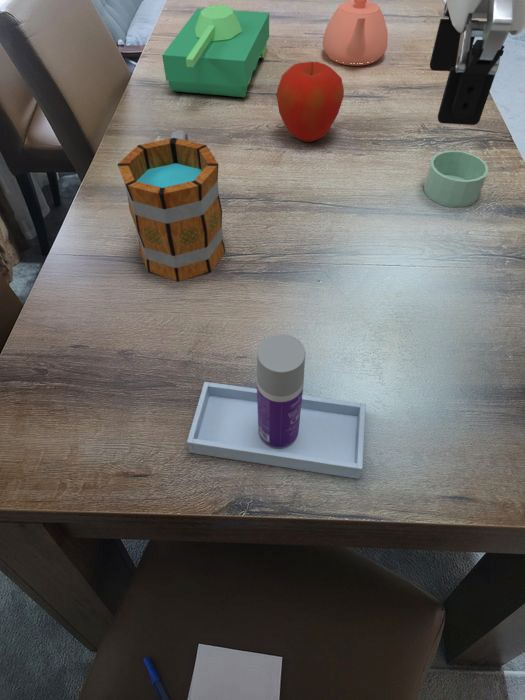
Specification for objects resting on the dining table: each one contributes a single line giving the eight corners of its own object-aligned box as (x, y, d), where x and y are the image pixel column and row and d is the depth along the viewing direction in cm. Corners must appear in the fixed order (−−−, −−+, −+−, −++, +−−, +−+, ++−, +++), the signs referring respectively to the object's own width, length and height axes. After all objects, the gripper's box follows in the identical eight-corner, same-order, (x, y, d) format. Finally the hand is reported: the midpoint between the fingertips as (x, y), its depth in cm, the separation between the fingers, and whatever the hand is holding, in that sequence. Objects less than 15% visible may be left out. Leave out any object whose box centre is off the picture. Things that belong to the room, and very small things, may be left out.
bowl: (475, 178, 89) (485, 152, 85) (480, 209, 83) (491, 183, 79) (422, 173, 90) (429, 148, 86) (424, 204, 84) (432, 178, 80)
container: (296, 452, 55) (303, 376, 43) (255, 446, 56) (251, 369, 44) (300, 416, 58) (309, 335, 46) (261, 410, 59) (260, 330, 47)
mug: (223, 281, 73) (215, 194, 61) (132, 281, 73) (107, 194, 61) (229, 201, 85) (223, 116, 73) (152, 201, 85) (133, 116, 73)
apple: (265, 144, 96) (265, 67, 85) (292, 117, 103) (295, 42, 92) (323, 160, 93) (331, 82, 82) (347, 131, 99) (357, 55, 88)
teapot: (387, 79, 113) (398, 17, 104) (319, 76, 114) (324, 15, 105) (383, 41, 127) (393, -17, 117) (322, 38, 128) (327, -19, 118)
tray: (362, 415, 59) (365, 403, 57) (358, 479, 54) (362, 469, 52) (206, 393, 61) (204, 381, 59) (189, 452, 56) (186, 442, 54)
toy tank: (146, 50, 95) (195, -10, 116) (157, 113, 104) (201, 47, 125) (235, 56, 92) (269, -7, 113) (238, 121, 102) (269, 52, 123)
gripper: (654, -187, 23) (513, 150, 37) (568, -216, 34) (483, 55, 47) (491, -186, 24) (411, 144, 38) (456, -215, 35) (404, 51, 48)
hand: (451, 94), depth 42 cm, fingers open, 9 cm apart
